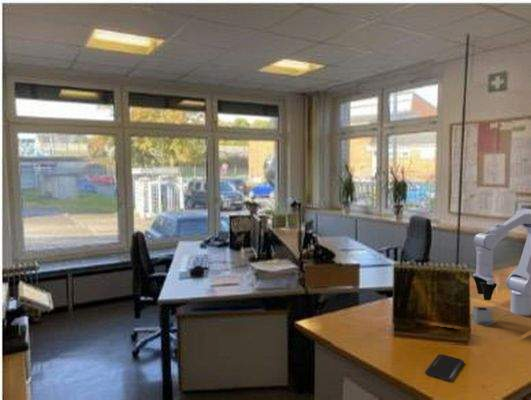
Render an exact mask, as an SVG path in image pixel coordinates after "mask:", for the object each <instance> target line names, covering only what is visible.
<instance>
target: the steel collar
mask: <svg viewBox="0 0 531 400" xmlns="http://www.w3.org/2000/svg"><path fill="white" fill-rule="evenodd" d="M472 312H473V314H472V319H474V321H475V322H476V323H475V322H474V323H475V324H477V325H481V324H491V325H493V324H492V321H493V311H492V310H491V309H490V308H489V307H488V306H478V305H477V306H476V305H475V306H472Z"/></svg>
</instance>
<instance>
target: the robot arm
mask: <svg viewBox="0 0 531 400" xmlns="http://www.w3.org/2000/svg"><path fill="white" fill-rule="evenodd" d="M519 226H522V227H523V228H524V229H526V231H527V233H528V234H527V236H526V240H525V243H524V246H523V250H522V254H521V257H520V259H519V263H518V266H517V268H516V269H513V270H512V271H511V272H510V274H509V276H508V277H507V279H506V281H505V285H506V288H507V289H508V290H509V293H510V307H509V309H510V313H512V314H514V315H518V316H523V317H524V316H525V317H526V316H531V208H526V207H521V208H520V209H518V210H515V214H514V215H513V216H512V217H510V218H509V219H508V220H506V221H504V223H503V224H502V223H495V224H493V226H492V227H491V228H488V229H486V230H484V232H478V233H477V234H476V235H474V237H473V238H474V239H473V240H472V243H473V246H474V247H475V249H474V250H475V251H476V260H475V261H476V263H475V264H476V266H475V267H476V269H475V273H472V278H473V280H474V282H475V287H476V289H477V290H476V291H477V293H478V295H483V301H491V300H492V297H493V294H494V291H495V289H496V288H497V286H498V284H497V283H496V282H494V274H493V273H494V271H493V269H494V264H493V263H494V258H493V257H494V249H495V248H496V246H497V245H498V243H499V242H500V241H501V240H503V239H504V238H506V237H508V235H509V231H512V230H514V229H515V228H517V227H519Z"/></svg>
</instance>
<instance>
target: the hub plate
mask: <svg viewBox="0 0 531 400" xmlns="http://www.w3.org/2000/svg"><path fill="white" fill-rule="evenodd" d="M470 320H471V321H470V322H472V323H474V324H477V323H476V322H475V321H474V319H473V318H472V319H470ZM493 324H496V321H494V320H492V324H480V325H481V326H485V327H488V326H490V325H493Z"/></svg>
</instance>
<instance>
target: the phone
mask: <svg viewBox="0 0 531 400" xmlns="http://www.w3.org/2000/svg"><path fill="white" fill-rule="evenodd" d="M464 363H465V361H464V360H463V359H461V358H457V357H454V356H451V355H446V354H442V353H441V354H438V355H437V356H436V357H435V358H434V360H433V361H432V362H431V363H430V364H429V366H428V367H427V368H426V369H425V370H424V373H425V375H426V376H428V377H432V378H435V379H437V380H438V379H439V380H442V381H446V382H453V380H454V379H455V377H456V376H457V374H458V373H459V371H460V370H461V369H462V367H463V366H464Z"/></svg>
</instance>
